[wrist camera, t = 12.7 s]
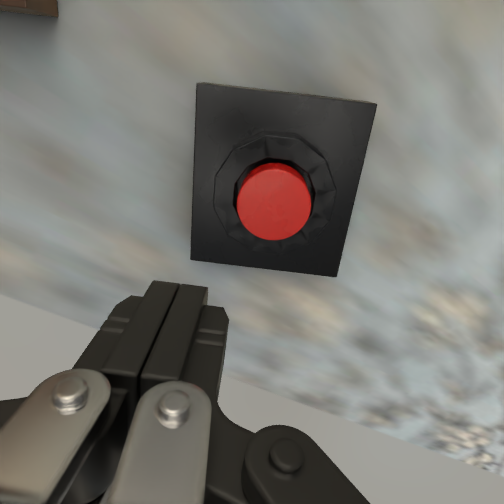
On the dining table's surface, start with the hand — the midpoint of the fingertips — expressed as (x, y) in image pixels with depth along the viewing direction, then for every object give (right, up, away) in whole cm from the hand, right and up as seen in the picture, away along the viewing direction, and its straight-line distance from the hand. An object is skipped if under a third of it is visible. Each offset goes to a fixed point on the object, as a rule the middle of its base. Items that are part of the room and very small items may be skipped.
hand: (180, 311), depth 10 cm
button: (+3, +5, +11) cm, 12 cm away
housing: (+3, +6, +14) cm, 16 cm away
